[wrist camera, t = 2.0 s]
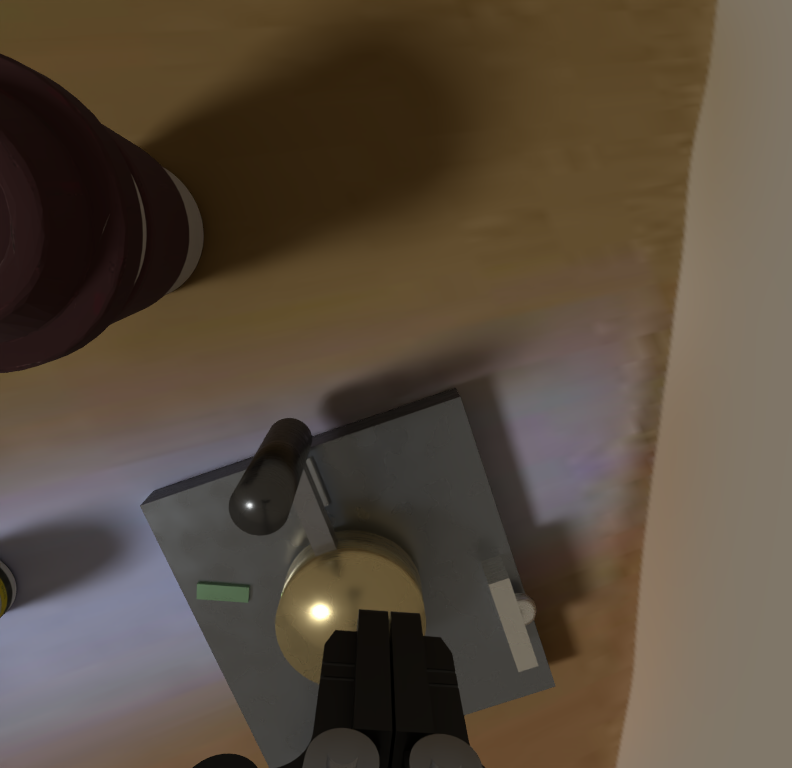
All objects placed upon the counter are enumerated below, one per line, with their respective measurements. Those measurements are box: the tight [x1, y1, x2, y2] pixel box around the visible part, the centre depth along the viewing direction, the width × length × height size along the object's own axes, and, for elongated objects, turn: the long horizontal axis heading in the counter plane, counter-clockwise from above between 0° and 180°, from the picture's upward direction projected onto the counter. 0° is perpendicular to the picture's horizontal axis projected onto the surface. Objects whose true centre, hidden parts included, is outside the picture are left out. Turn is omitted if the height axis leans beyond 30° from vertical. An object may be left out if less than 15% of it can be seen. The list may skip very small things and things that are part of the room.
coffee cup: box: [0, 54, 204, 373], centre depth 23 cm, size 10×10×15 cm
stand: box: [140, 388, 555, 768], centre depth 34 cm, size 20×19×4 cm
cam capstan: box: [229, 418, 426, 684], centre depth 28 cm, size 15×8×8 cm, turn 19°
